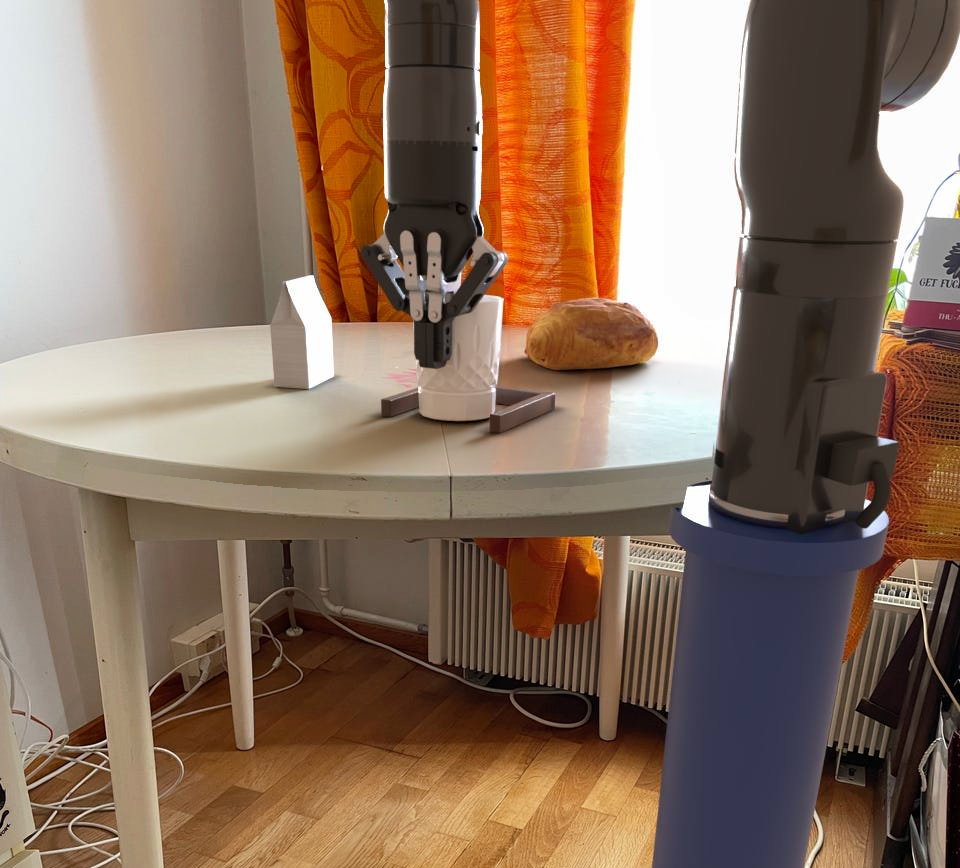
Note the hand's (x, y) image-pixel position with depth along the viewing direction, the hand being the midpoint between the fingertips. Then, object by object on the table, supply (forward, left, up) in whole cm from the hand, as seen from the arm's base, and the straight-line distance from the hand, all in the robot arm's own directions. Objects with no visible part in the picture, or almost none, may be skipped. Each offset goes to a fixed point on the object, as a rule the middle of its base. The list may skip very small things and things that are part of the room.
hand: (433, 366), depth 86 cm
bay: (+3, -5, -5) cm, 8 cm away
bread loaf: (+18, -32, -5) cm, 37 cm away
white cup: (+3, -4, -5) cm, 7 cm away
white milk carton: (+23, +1, -5) cm, 24 cm away
